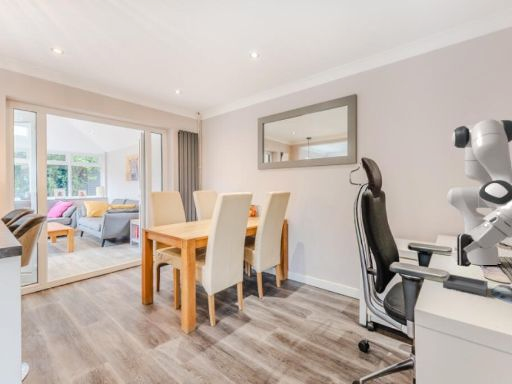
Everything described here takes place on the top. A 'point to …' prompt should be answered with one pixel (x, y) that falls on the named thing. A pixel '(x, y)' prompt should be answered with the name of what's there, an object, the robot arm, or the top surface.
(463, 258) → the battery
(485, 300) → the top surface
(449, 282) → the grey tray
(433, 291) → the top surface
